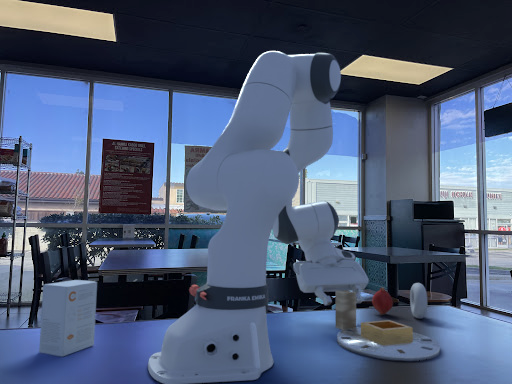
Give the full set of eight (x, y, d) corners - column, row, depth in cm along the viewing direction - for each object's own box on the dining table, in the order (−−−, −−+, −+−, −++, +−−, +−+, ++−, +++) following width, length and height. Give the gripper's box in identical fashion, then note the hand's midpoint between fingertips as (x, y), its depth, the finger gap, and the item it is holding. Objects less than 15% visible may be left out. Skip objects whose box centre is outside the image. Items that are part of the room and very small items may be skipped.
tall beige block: (342, 330, 97) (342, 293, 98) (335, 327, 100) (335, 291, 101) (356, 329, 98) (356, 292, 99) (348, 326, 101) (348, 290, 102)
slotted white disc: (379, 366, 72) (379, 342, 72) (319, 336, 91) (319, 317, 91) (463, 354, 79) (462, 333, 80) (391, 329, 99) (390, 312, 99)
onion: (371, 312, 119) (370, 285, 120) (390, 313, 118) (390, 286, 119) (374, 316, 113) (373, 288, 114) (394, 317, 112) (394, 289, 113)
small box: (71, 341, 83) (75, 279, 84) (94, 345, 80) (98, 281, 82) (37, 352, 75) (42, 283, 76) (62, 357, 73) (66, 286, 74)
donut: (429, 322, 107) (428, 285, 108) (415, 321, 107) (415, 284, 108) (421, 315, 116) (420, 280, 117) (409, 314, 117) (408, 280, 118)
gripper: (295, 253, 104) (313, 297, 94) (358, 253, 112) (381, 293, 102) (287, 269, 108) (304, 312, 98) (349, 267, 116) (370, 307, 106)
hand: (344, 302), depth 100 cm, fingers open, 8 cm apart
